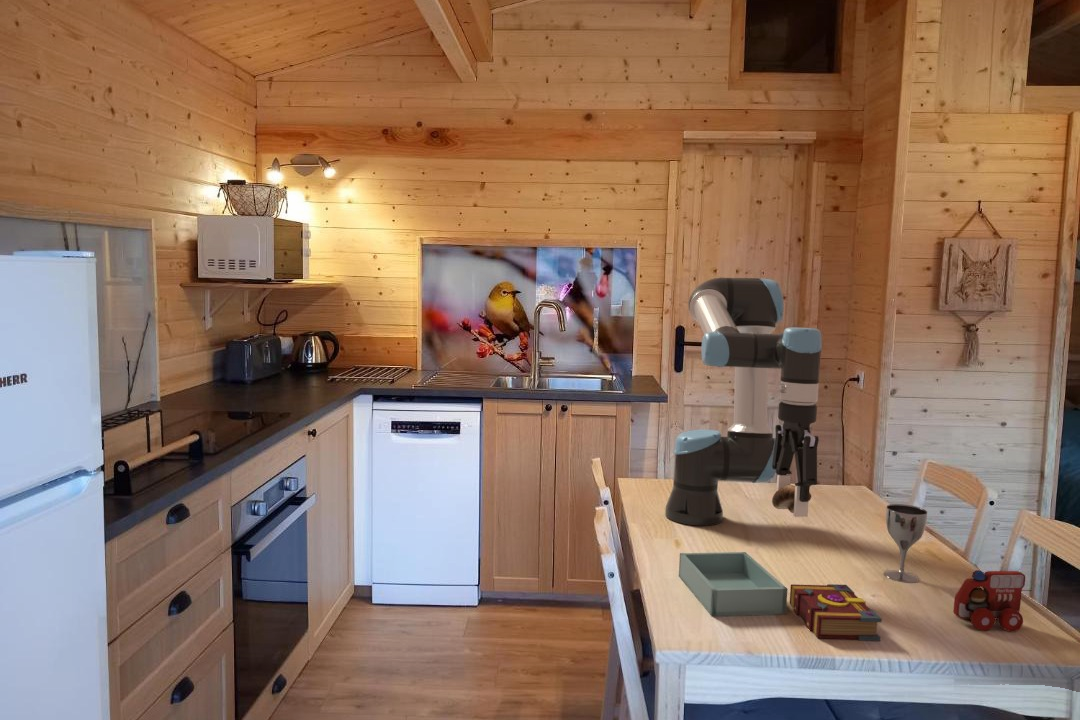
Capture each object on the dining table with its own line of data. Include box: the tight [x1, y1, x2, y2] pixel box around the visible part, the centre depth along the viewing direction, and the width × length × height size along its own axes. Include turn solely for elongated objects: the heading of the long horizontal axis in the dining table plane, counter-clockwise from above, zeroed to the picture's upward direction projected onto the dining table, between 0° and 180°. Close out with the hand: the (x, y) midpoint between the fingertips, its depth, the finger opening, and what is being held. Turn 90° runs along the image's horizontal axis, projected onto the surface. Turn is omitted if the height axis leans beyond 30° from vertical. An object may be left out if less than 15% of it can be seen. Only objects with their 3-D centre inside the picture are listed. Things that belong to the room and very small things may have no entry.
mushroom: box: [771, 484, 812, 514], centre depth 157 cm, size 8×8×6 cm
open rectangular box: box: [678, 551, 788, 617], centre depth 150 cm, size 20×15×5 cm
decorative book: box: [789, 583, 883, 642], centre depth 139 cm, size 11×16×5 cm
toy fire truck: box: [953, 569, 1026, 632], centre depth 140 cm, size 7×12×10 cm, turn 91°
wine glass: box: [883, 503, 928, 584], centre depth 162 cm, size 8×8×15 cm
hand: (791, 510), depth 157 cm, fingers closed on mushroom, 7 cm apart
